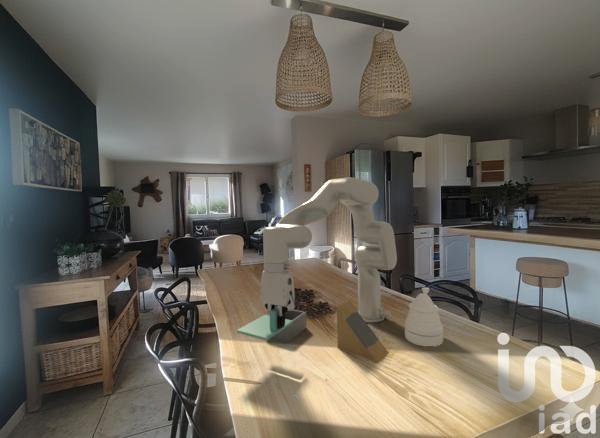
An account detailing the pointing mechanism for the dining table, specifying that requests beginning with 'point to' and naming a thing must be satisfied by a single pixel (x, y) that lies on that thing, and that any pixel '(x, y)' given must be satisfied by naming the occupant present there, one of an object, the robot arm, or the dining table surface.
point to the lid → (264, 326)
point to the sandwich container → (357, 334)
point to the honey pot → (423, 322)
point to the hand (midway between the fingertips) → (277, 326)
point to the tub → (292, 326)
